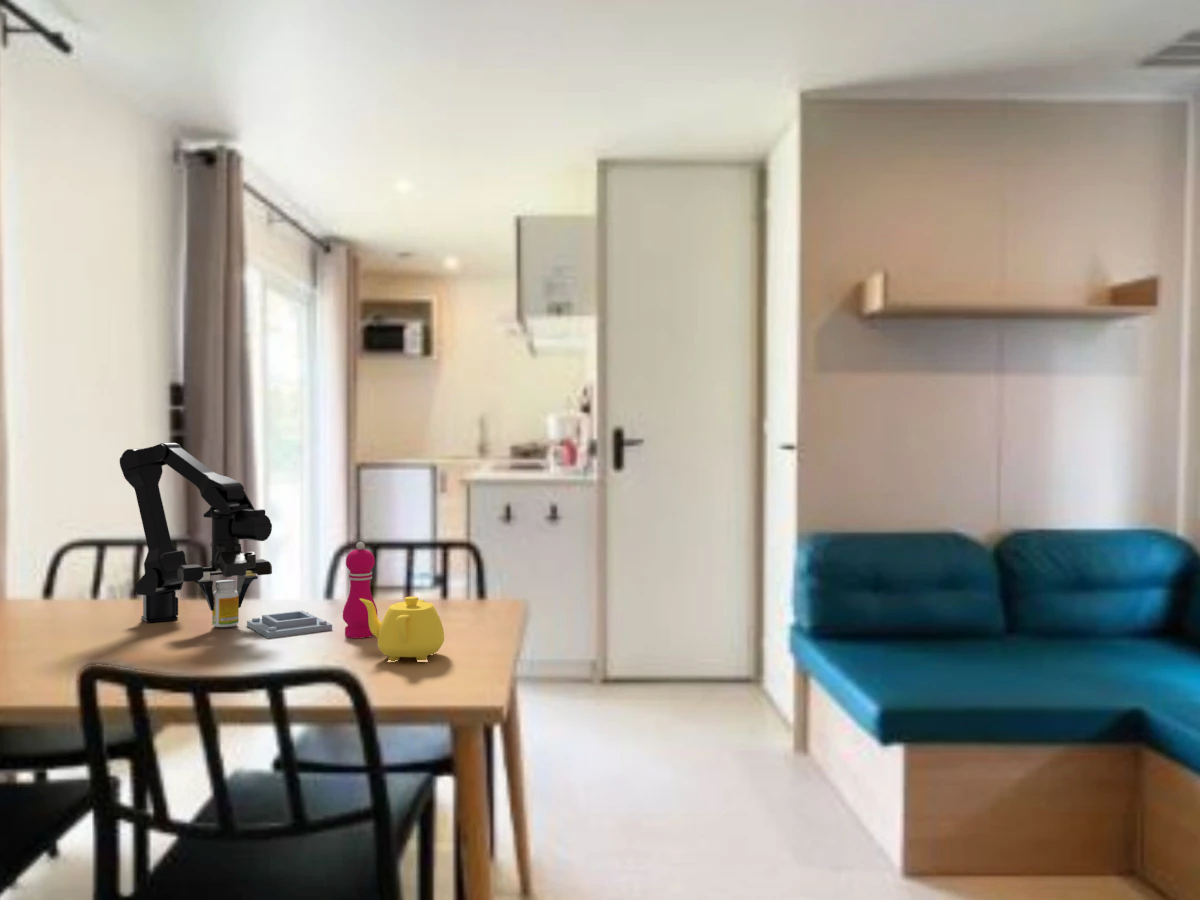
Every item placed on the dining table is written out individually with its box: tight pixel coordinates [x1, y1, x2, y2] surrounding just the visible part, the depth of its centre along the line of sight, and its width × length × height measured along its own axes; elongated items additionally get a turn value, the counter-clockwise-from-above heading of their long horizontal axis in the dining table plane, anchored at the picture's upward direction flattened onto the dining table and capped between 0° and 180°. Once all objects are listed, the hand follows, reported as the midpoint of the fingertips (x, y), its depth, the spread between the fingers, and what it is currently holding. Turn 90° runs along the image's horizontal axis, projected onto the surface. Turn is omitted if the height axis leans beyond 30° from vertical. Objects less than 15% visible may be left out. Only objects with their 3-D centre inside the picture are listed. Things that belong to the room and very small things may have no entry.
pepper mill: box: [342, 541, 378, 639], centre depth 202 cm, size 7×7×20 cm
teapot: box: [360, 596, 445, 661], centre depth 184 cm, size 14×14×12 cm
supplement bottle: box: [211, 579, 240, 628], centre depth 209 cm, size 5×5×10 cm
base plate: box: [246, 610, 333, 639], centre depth 208 cm, size 14×14×3 cm
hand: (225, 609), depth 209 cm, fingers closed on supplement bottle, 5 cm apart
